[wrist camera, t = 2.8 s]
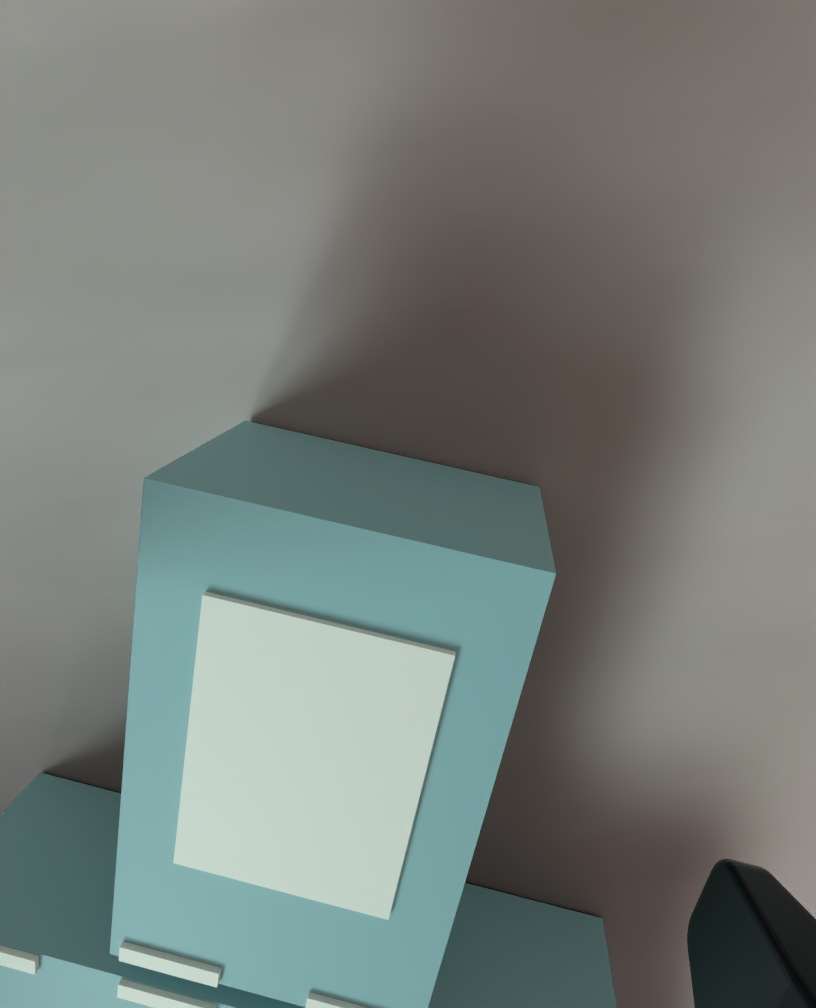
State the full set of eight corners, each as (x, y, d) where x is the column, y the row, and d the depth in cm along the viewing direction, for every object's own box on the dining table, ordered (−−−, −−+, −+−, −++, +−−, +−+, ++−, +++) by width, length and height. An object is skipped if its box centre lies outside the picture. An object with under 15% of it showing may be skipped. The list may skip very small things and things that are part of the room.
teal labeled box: (437, 857, 14) (418, 1045, 11) (200, 796, 14) (106, 959, 11) (539, 486, 11) (557, 577, 8) (245, 420, 12) (140, 480, 8)
